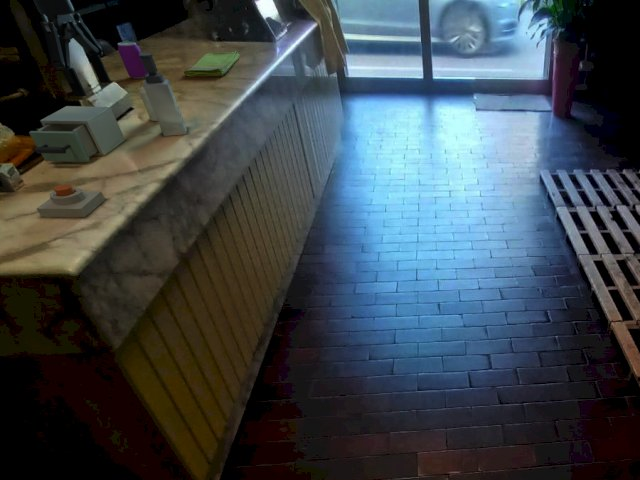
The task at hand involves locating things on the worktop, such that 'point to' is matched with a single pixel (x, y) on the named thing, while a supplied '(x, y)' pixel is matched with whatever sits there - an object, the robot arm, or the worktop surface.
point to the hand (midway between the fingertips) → (93, 89)
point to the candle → (147, 104)
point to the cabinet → (91, 125)
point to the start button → (64, 190)
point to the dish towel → (213, 65)
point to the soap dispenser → (162, 99)
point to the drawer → (64, 142)
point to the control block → (71, 204)
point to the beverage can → (132, 59)
